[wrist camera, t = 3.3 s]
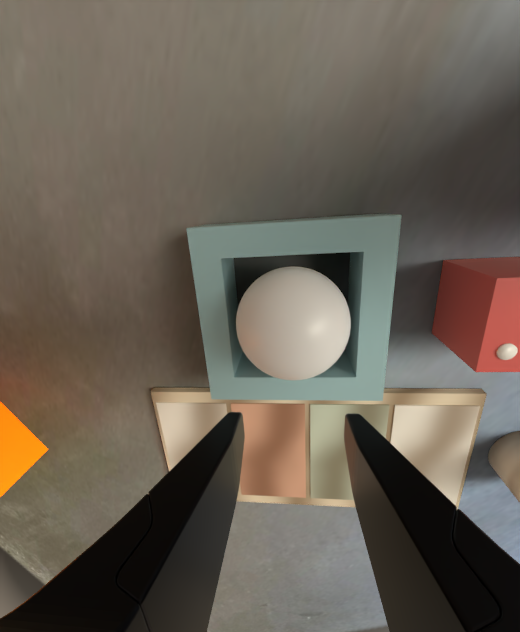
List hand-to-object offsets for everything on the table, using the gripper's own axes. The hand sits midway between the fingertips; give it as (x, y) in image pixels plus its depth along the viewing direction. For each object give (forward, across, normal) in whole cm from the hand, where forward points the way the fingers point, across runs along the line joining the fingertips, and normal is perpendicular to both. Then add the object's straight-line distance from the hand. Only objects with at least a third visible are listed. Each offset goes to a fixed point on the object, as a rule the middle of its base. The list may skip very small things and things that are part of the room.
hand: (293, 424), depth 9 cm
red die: (+12, -12, 0) cm, 17 cm away
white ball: (+11, 0, 0) cm, 11 cm away
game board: (+12, -1, +13) cm, 18 cm away
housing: (+12, 0, 0) cm, 12 cm away
